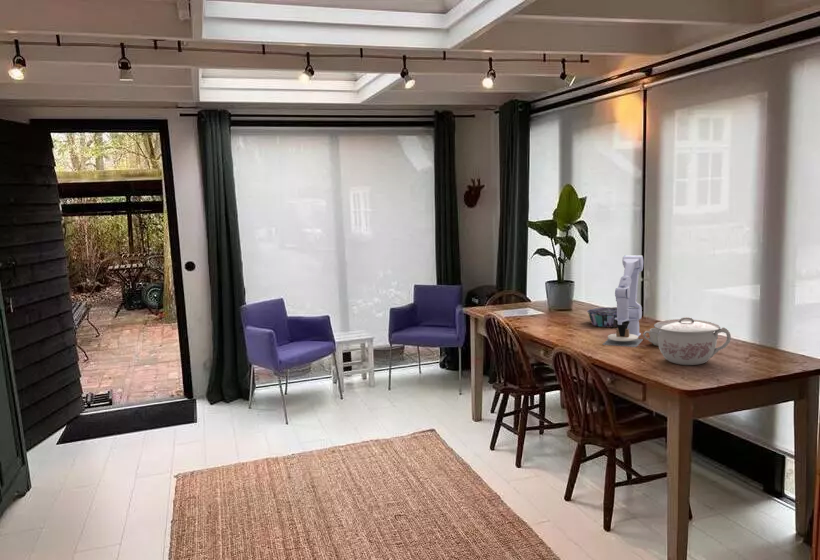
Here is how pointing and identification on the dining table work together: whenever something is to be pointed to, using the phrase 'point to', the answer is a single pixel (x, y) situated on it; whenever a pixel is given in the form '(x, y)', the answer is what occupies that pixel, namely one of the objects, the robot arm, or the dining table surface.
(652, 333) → the teacup
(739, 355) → the dining table surface
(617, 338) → the lid
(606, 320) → the decorative bowl
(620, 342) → the mat
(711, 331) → the chamber pot
